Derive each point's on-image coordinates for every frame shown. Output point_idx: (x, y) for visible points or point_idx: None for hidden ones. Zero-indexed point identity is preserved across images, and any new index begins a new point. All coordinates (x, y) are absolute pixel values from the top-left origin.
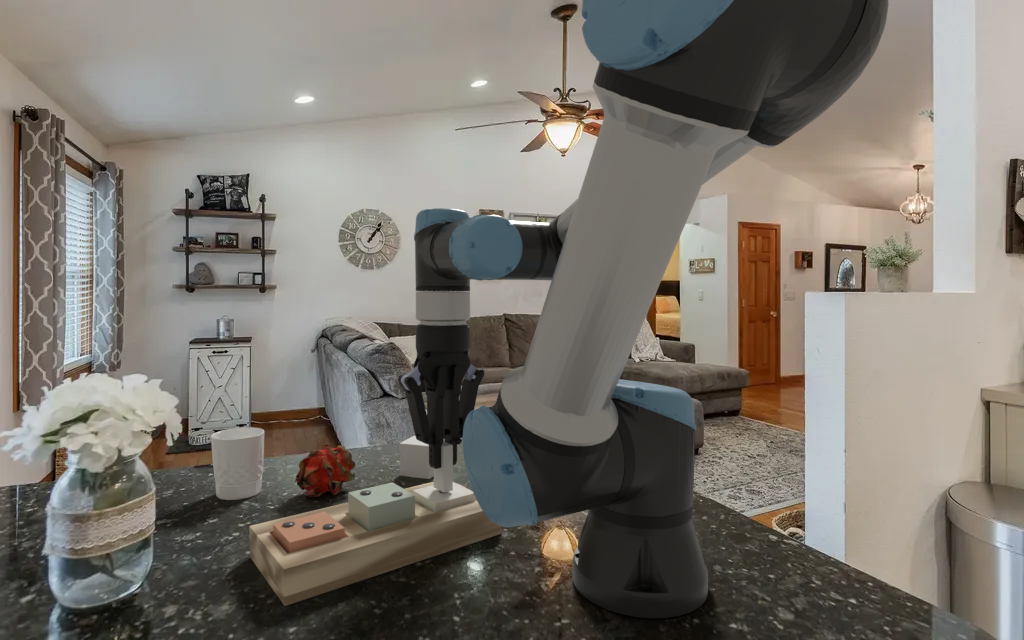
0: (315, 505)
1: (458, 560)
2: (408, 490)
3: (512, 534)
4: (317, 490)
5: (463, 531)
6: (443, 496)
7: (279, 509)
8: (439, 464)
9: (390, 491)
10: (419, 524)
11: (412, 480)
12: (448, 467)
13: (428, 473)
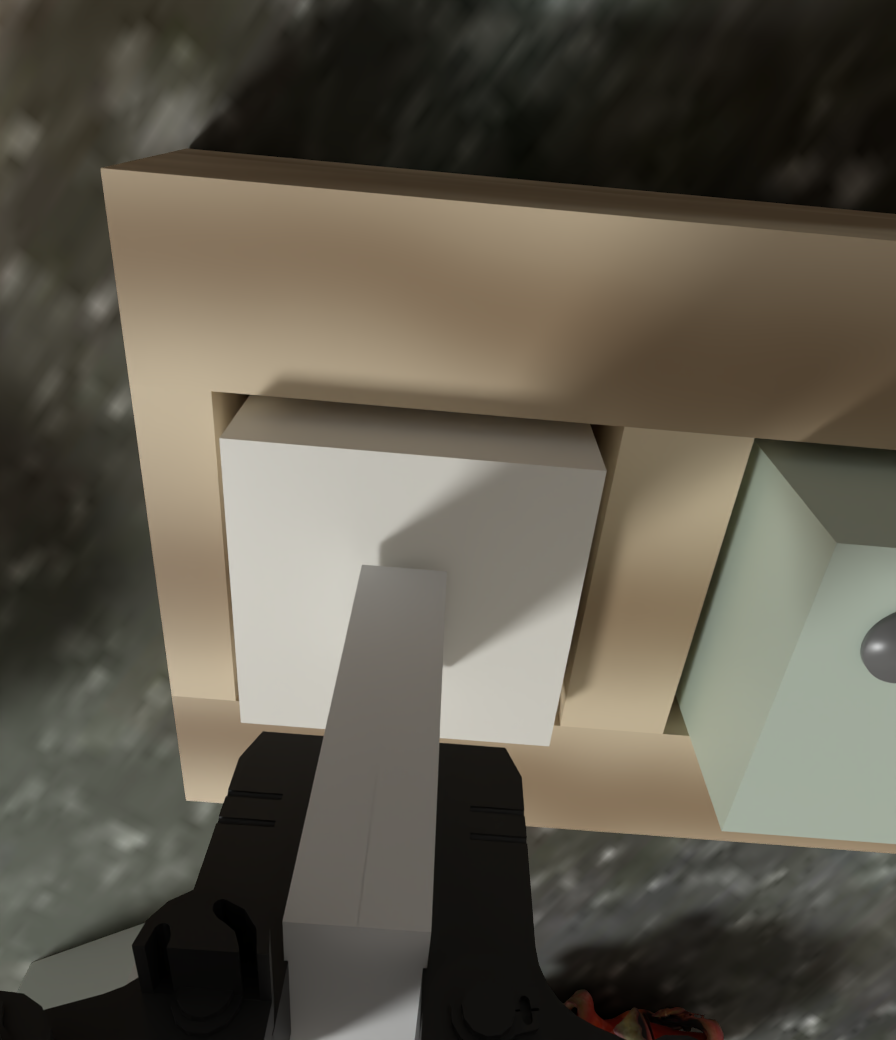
0: (695, 962)
1: (668, 24)
2: None
3: (126, 82)
4: (671, 1033)
5: (513, 189)
6: (468, 540)
7: (809, 997)
8: (459, 772)
9: (876, 719)
10: (866, 322)
11: None
12: (385, 705)
13: None
